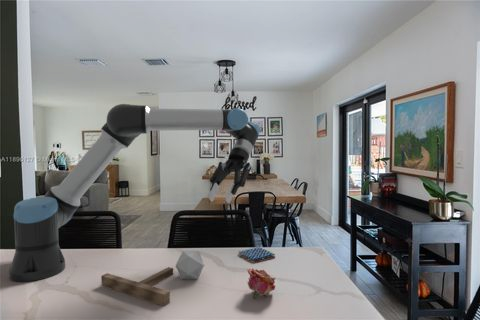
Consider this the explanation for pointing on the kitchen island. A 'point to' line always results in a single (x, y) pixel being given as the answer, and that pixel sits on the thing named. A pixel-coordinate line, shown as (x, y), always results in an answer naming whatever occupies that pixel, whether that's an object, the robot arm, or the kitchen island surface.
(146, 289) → the walnut T rail
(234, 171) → the robot arm
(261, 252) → the woven mat
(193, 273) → the die
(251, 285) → the flower
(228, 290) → the kitchen island surface
